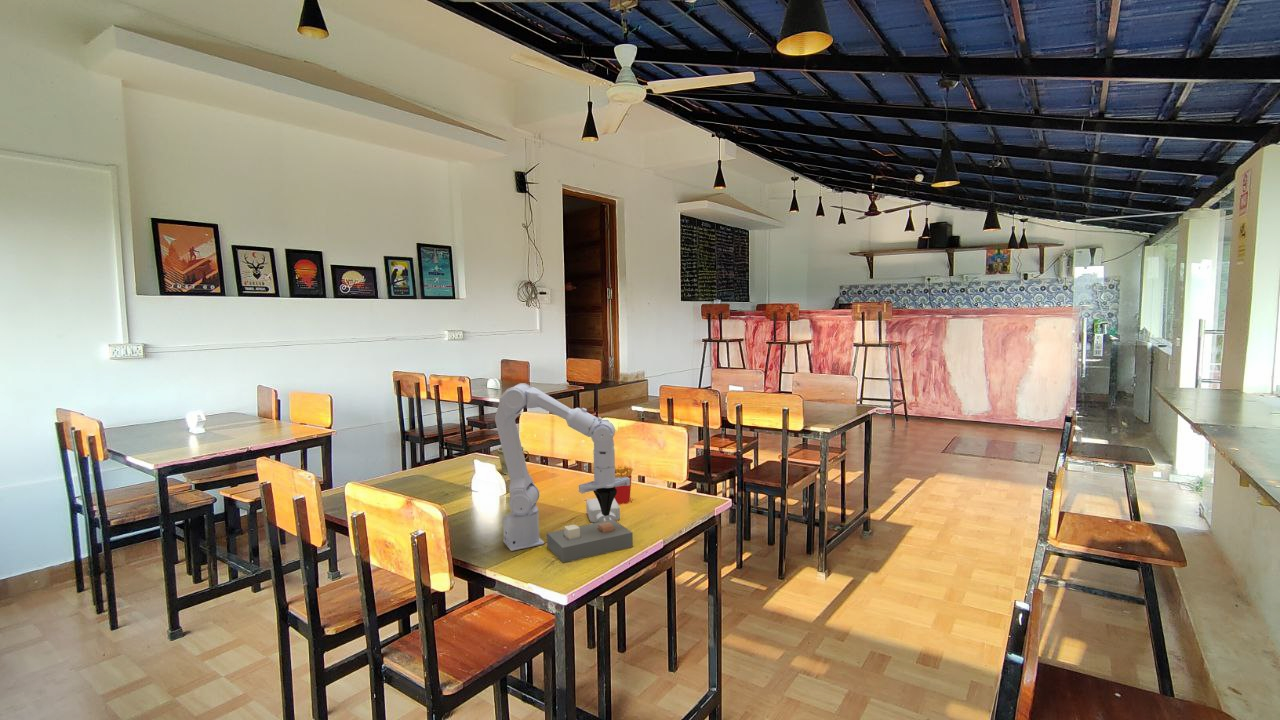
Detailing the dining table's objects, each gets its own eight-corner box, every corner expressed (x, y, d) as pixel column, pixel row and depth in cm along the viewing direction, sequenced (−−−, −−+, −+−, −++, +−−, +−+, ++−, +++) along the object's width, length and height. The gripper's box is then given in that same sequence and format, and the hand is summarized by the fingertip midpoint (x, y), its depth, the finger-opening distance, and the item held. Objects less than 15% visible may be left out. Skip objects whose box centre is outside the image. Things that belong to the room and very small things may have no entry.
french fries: (609, 505, 201) (608, 469, 200) (606, 501, 205) (605, 466, 204) (634, 502, 203) (633, 467, 202) (631, 498, 207) (630, 464, 206)
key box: (563, 562, 157) (562, 547, 156) (547, 547, 167) (546, 532, 167) (632, 546, 166) (632, 532, 166) (613, 532, 176) (613, 519, 176)
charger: (592, 530, 179) (586, 513, 194) (623, 527, 181) (615, 511, 196) (592, 514, 179) (586, 499, 194) (623, 511, 181) (615, 496, 195)
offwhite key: (568, 541, 162) (568, 530, 161) (564, 537, 165) (564, 526, 164) (580, 538, 163) (579, 527, 163) (575, 535, 166) (575, 524, 166)
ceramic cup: (493, 475, 240) (492, 450, 239) (507, 469, 249) (506, 444, 248) (523, 477, 236) (522, 452, 235) (535, 471, 245) (534, 446, 244)
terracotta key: (603, 538, 166) (603, 528, 166) (598, 535, 169) (598, 524, 169) (614, 536, 168) (613, 525, 168) (609, 532, 171) (608, 522, 171)
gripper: (585, 473, 160) (586, 523, 161) (634, 465, 167) (635, 514, 168) (575, 467, 166) (576, 515, 167) (623, 459, 173) (624, 506, 174)
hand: (605, 514), depth 168 cm, fingers closed
